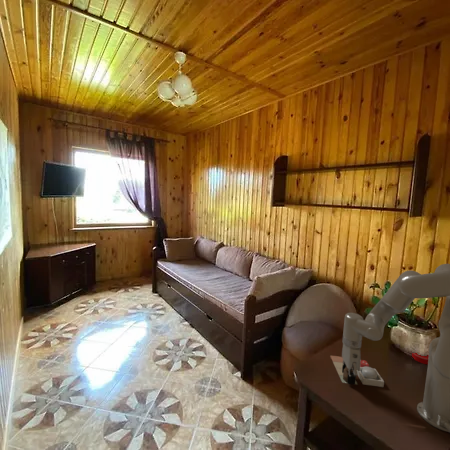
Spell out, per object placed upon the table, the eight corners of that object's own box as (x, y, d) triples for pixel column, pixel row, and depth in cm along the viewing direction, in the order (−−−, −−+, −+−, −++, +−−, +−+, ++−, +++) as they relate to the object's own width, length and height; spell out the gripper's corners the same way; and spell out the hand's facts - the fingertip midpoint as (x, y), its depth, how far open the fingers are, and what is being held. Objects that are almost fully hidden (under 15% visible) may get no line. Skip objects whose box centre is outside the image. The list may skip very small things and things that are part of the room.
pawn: (355, 383, 112) (356, 370, 111) (344, 382, 112) (346, 368, 112) (351, 376, 116) (352, 363, 115) (341, 375, 117) (342, 362, 116)
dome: (379, 384, 112) (379, 376, 112) (364, 382, 113) (365, 374, 112) (373, 375, 118) (373, 367, 117) (359, 373, 119) (360, 365, 118)
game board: (358, 386, 111) (358, 384, 111) (341, 384, 112) (341, 382, 112) (343, 358, 131) (343, 356, 131) (329, 356, 132) (329, 355, 132)
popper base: (384, 388, 110) (385, 379, 110) (362, 385, 112) (363, 376, 111) (369, 366, 125) (370, 358, 125) (350, 364, 126) (351, 356, 126)
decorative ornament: (409, 358, 133) (409, 353, 133) (412, 351, 140) (413, 346, 140) (432, 367, 126) (433, 361, 126) (434, 359, 133) (435, 354, 133)
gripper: (368, 353, 103) (364, 393, 105) (353, 332, 120) (350, 366, 122) (349, 351, 104) (346, 391, 106) (337, 330, 121) (334, 364, 123)
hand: (348, 377), depth 114 cm, fingers open, 6 cm apart
